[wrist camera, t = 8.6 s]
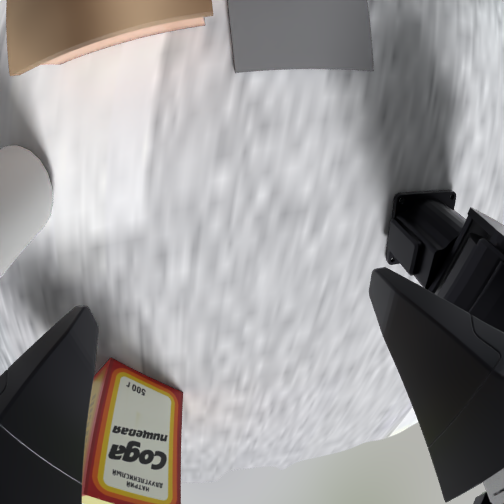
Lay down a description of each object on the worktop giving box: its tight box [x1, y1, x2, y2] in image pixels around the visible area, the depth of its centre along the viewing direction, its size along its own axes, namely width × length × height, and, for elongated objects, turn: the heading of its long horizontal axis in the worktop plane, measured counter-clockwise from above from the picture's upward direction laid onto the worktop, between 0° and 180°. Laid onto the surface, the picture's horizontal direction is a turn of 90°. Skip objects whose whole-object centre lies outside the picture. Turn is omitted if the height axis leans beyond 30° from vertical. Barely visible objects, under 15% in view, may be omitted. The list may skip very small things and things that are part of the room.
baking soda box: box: [82, 358, 183, 504], centre depth 25 cm, size 10×6×16 cm
